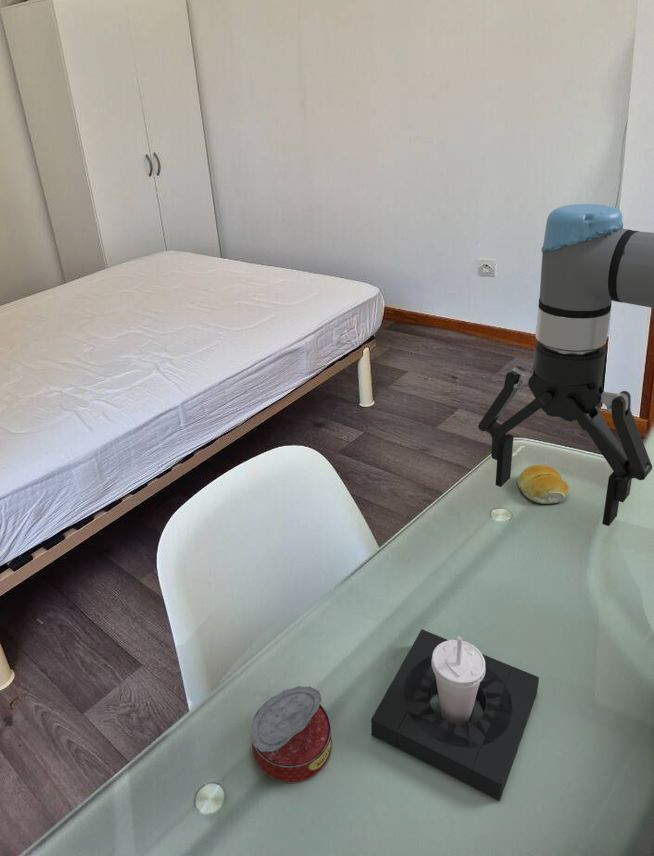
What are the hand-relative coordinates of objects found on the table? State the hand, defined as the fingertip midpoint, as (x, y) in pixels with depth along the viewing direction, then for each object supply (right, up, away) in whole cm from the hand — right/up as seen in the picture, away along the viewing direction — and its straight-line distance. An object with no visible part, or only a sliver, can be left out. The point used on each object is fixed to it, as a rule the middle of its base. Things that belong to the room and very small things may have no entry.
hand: (553, 500), depth 87 cm
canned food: (-33, -30, -1) cm, 45 cm away
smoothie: (-12, -28, +1) cm, 30 cm away
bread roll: (+14, -7, +40) cm, 43 cm away
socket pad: (-12, -27, +1) cm, 30 cm away
